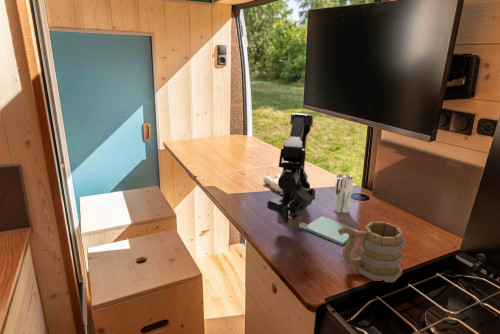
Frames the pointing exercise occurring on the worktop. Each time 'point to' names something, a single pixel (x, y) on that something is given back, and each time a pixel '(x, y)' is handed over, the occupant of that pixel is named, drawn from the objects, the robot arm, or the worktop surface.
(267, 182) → the binoculars
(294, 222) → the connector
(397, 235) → the tankard
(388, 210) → the worktop surface
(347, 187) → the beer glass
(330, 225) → the mat
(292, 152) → the robot arm
